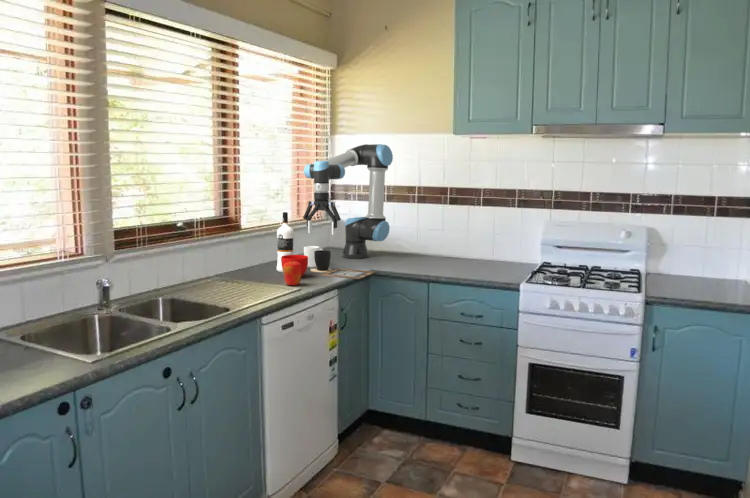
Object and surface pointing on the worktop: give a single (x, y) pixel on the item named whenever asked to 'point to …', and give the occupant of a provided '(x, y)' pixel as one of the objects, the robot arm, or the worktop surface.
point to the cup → (311, 254)
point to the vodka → (284, 241)
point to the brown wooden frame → (348, 274)
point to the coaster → (319, 271)
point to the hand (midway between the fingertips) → (321, 233)
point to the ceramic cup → (297, 258)
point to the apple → (292, 272)
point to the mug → (322, 259)
